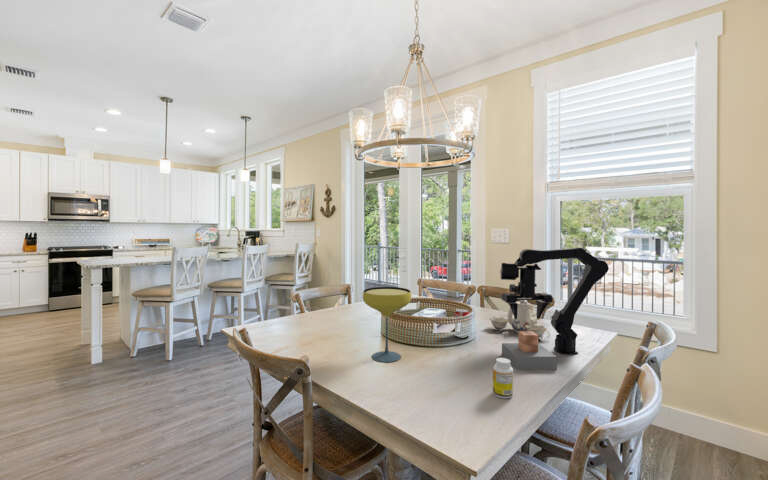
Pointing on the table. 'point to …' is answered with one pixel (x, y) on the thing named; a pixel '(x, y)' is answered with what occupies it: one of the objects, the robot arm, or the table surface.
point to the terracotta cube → (528, 341)
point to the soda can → (460, 312)
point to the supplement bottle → (503, 378)
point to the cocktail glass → (386, 311)
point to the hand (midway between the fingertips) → (526, 319)
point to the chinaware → (520, 320)
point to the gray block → (529, 358)
